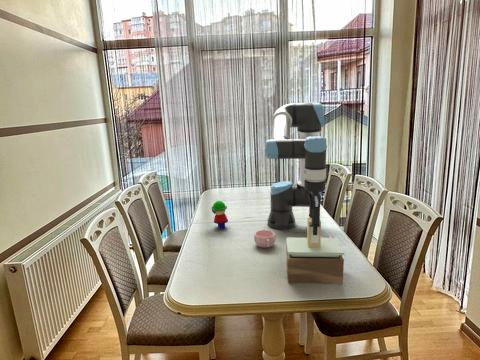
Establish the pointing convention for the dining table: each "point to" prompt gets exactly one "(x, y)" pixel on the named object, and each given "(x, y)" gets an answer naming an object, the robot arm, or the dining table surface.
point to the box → (315, 269)
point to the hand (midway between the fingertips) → (313, 239)
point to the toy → (219, 214)
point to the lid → (314, 245)
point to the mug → (264, 238)
